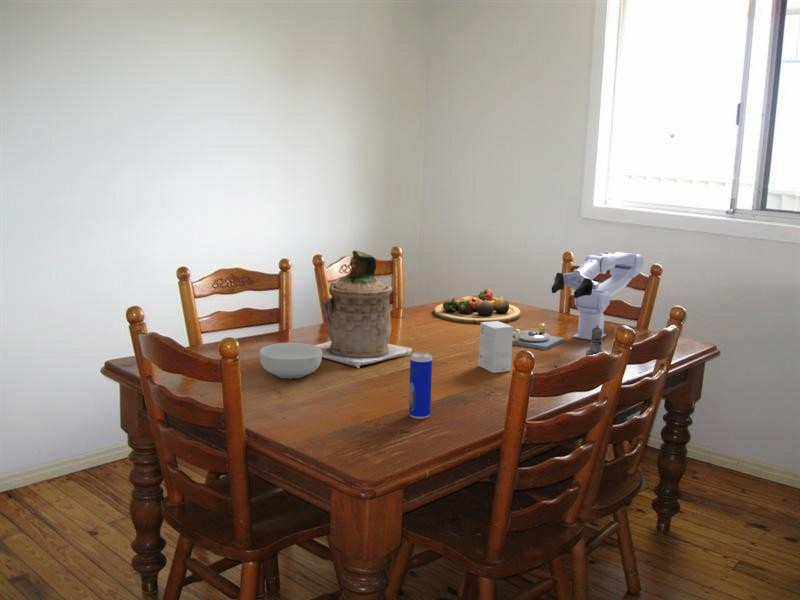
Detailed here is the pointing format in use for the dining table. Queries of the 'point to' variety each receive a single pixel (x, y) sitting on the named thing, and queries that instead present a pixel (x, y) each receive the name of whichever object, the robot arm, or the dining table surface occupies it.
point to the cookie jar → (359, 317)
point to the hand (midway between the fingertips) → (563, 292)
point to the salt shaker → (595, 342)
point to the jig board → (539, 345)
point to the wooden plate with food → (478, 309)
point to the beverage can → (420, 385)
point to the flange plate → (534, 335)
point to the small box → (495, 346)
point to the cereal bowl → (290, 359)
